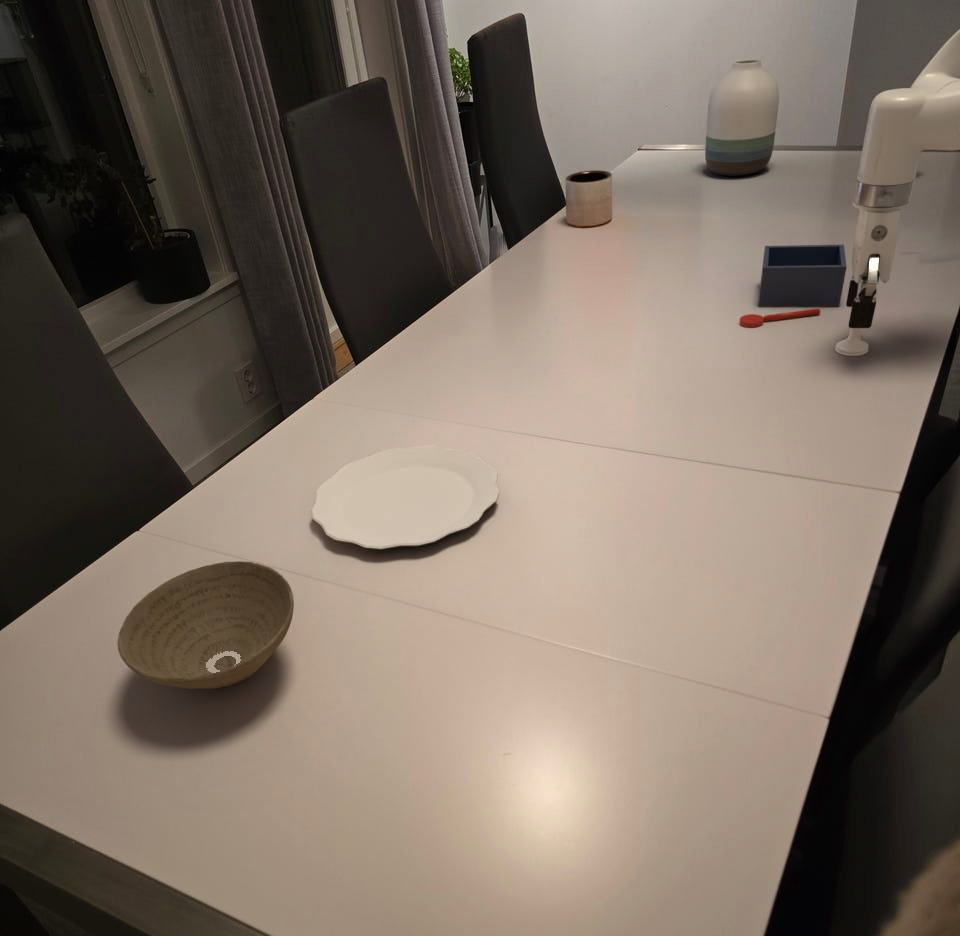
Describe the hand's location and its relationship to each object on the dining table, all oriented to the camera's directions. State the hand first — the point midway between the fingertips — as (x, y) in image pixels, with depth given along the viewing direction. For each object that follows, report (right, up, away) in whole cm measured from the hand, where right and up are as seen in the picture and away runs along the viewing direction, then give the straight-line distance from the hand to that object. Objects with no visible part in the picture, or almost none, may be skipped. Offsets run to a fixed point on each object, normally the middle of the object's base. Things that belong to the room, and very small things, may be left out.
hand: (858, 316), depth 130 cm
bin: (-1, +13, +23) cm, 26 cm away
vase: (+8, +72, +88) cm, 113 cm away
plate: (-69, -32, -17) cm, 78 cm away
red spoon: (-8, +5, +15) cm, 18 cm away
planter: (-33, +49, +69) cm, 91 cm away
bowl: (-87, -54, -39) cm, 109 cm away
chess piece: (+1, -4, +4) cm, 6 cm away
